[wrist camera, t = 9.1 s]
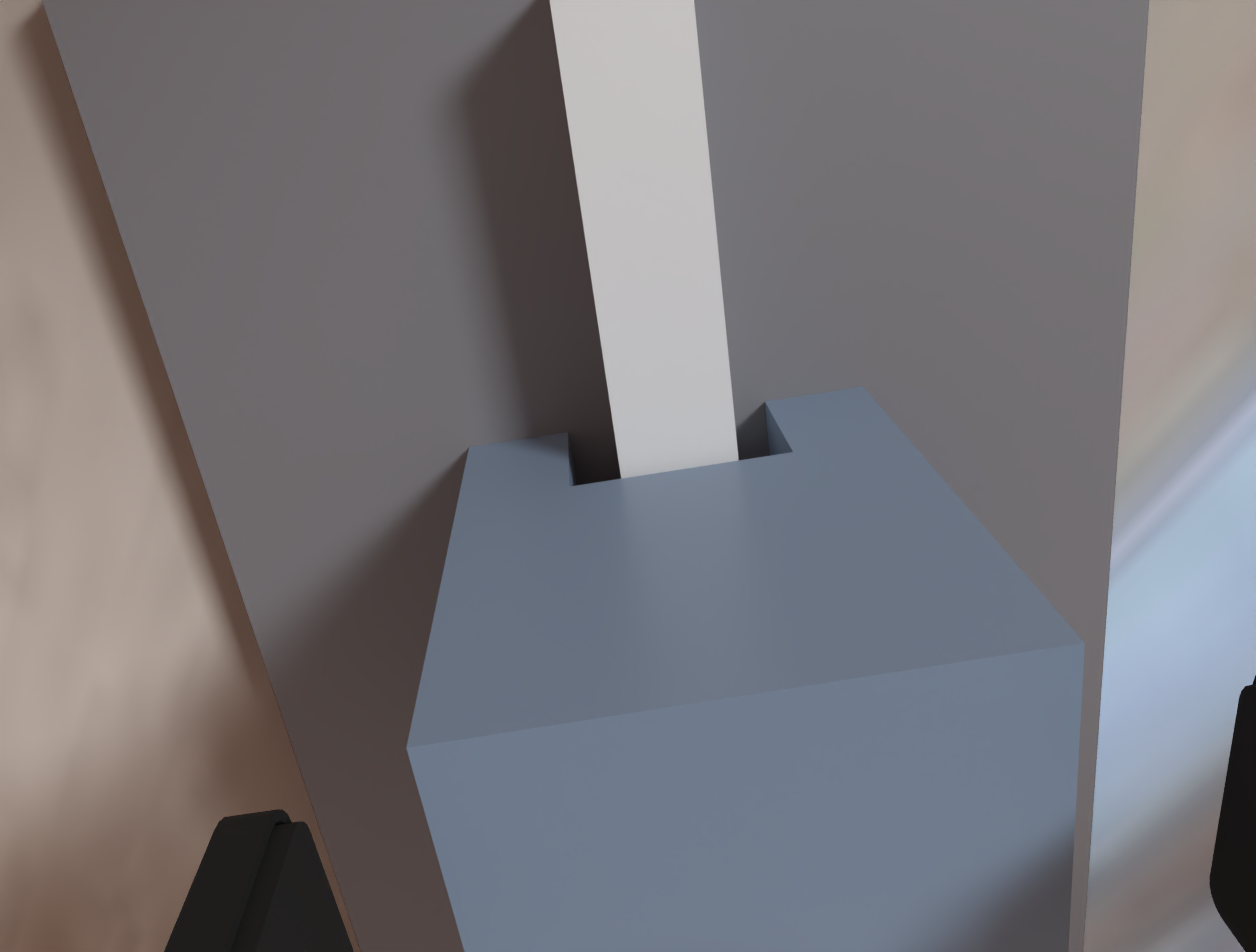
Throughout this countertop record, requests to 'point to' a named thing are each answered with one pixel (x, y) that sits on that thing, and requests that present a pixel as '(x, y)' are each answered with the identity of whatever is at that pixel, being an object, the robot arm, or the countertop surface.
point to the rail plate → (474, 325)
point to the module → (746, 706)
